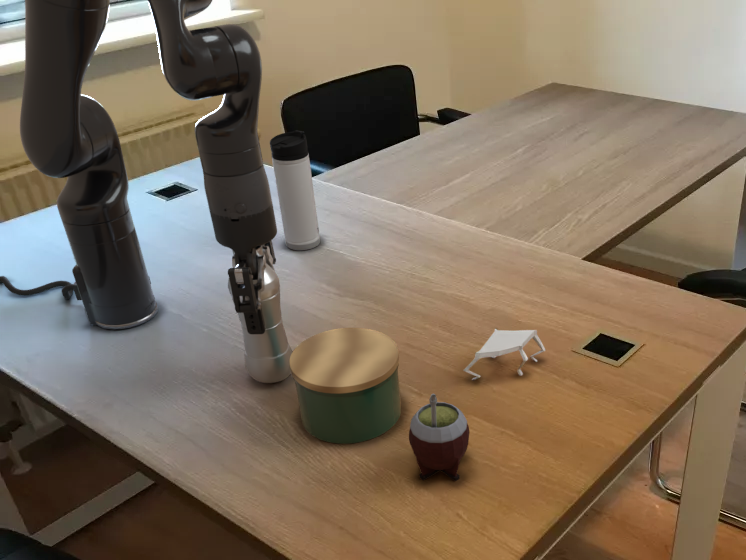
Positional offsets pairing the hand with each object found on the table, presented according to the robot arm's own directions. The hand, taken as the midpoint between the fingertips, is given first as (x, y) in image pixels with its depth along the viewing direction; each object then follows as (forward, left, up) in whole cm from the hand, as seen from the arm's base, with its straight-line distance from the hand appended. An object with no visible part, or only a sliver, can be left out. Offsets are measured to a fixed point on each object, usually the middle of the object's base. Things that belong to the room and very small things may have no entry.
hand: (263, 316), depth 108 cm
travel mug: (-2, +43, -10) cm, 44 cm away
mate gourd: (+24, -21, -10) cm, 33 cm away
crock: (+12, -9, -10) cm, 18 cm away
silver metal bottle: (0, 0, -10) cm, 10 cm away
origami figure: (+32, 0, -10) cm, 33 cm away
